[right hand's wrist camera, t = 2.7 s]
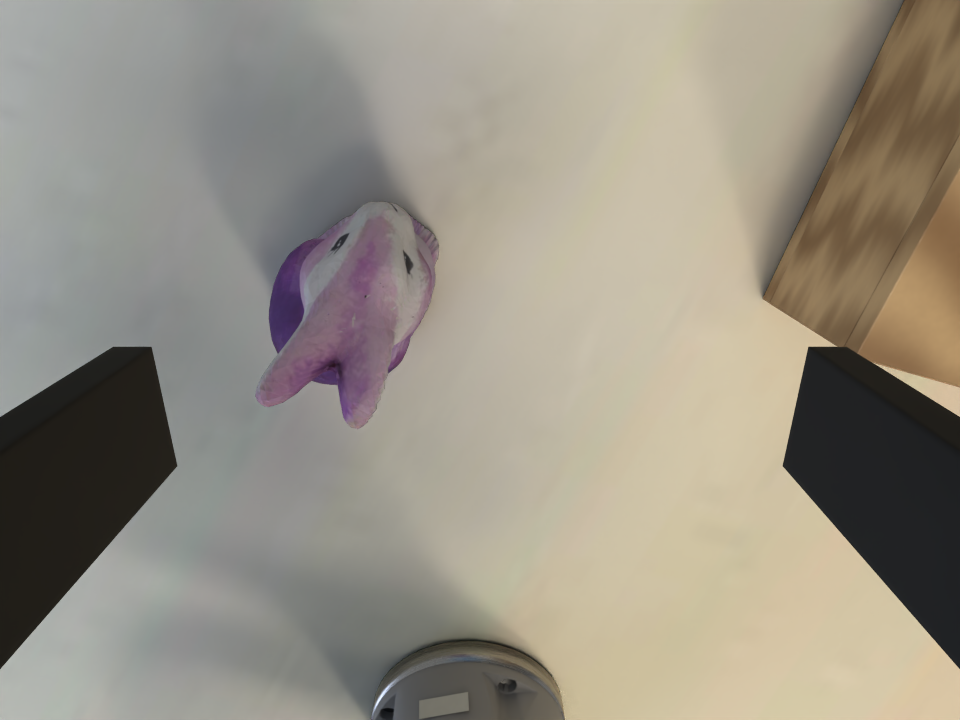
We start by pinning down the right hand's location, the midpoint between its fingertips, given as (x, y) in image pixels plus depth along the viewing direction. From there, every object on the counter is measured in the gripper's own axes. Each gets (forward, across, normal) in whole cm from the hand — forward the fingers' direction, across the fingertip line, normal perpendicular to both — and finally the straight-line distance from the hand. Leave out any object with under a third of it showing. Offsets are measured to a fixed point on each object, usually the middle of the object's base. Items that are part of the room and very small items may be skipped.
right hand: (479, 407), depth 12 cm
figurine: (+24, +7, +3) cm, 25 cm away
